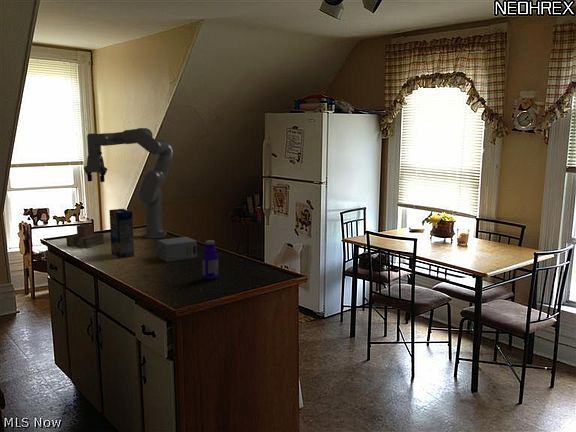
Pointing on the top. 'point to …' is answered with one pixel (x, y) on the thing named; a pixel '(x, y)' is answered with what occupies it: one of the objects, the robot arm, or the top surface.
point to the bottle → (210, 261)
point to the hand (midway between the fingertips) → (96, 181)
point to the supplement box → (176, 249)
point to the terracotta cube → (84, 230)
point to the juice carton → (121, 233)
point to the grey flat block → (84, 241)
